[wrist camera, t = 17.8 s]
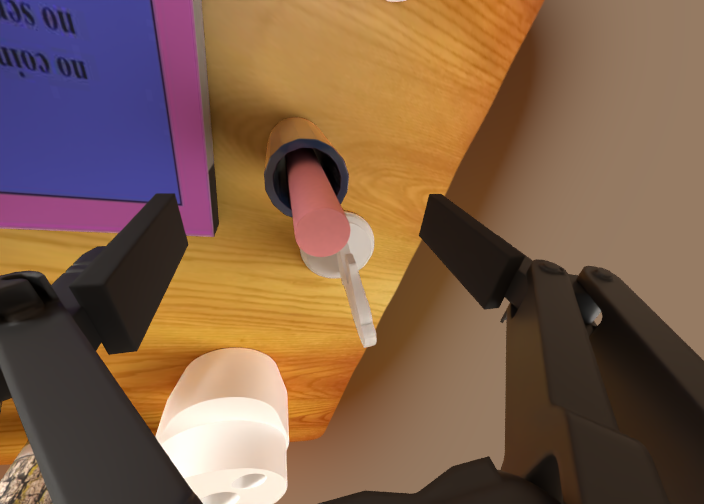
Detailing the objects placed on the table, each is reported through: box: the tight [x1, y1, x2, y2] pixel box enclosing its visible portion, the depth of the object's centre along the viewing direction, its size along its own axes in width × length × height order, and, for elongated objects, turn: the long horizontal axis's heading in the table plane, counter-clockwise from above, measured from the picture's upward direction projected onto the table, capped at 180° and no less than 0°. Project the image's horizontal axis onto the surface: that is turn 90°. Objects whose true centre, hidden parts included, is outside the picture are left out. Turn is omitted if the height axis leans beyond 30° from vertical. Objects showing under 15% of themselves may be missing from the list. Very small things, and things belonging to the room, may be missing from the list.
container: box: [155, 348, 289, 504], centre depth 42 cm, size 20×25×14 cm
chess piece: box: [300, 211, 377, 348], centre depth 30 cm, size 10×10×15 cm
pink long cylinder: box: [285, 148, 351, 257], centre depth 21 cm, size 3×3×18 cm
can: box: [264, 117, 349, 218], centre depth 24 cm, size 6×6×11 cm
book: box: [0, 0, 219, 237], centre depth 19 cm, size 21×3×30 cm
